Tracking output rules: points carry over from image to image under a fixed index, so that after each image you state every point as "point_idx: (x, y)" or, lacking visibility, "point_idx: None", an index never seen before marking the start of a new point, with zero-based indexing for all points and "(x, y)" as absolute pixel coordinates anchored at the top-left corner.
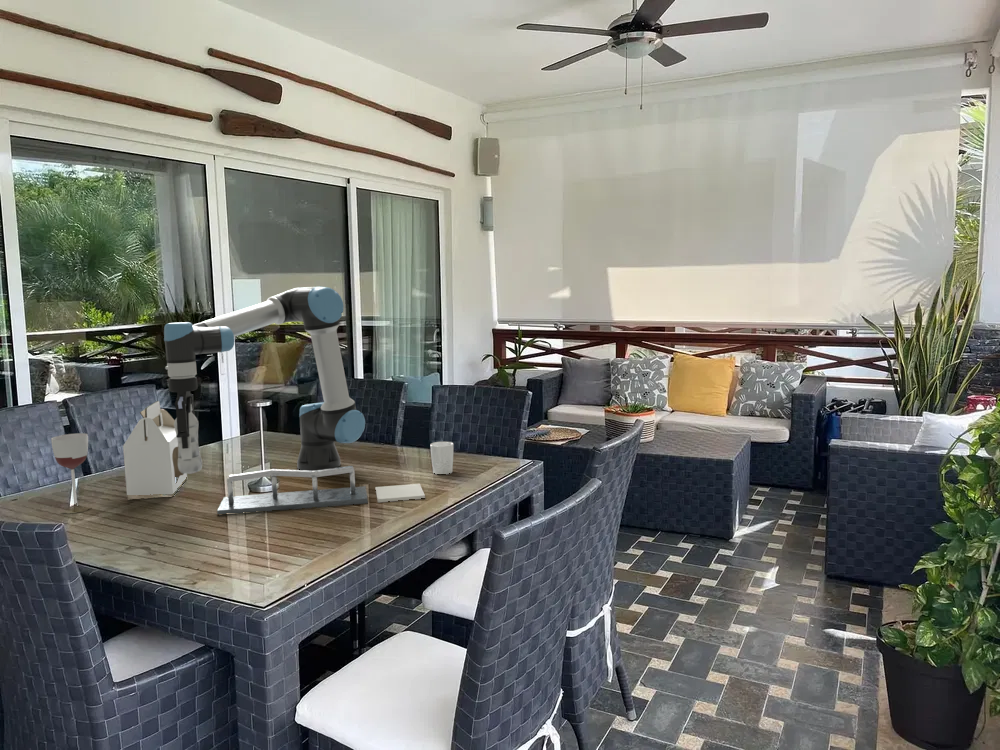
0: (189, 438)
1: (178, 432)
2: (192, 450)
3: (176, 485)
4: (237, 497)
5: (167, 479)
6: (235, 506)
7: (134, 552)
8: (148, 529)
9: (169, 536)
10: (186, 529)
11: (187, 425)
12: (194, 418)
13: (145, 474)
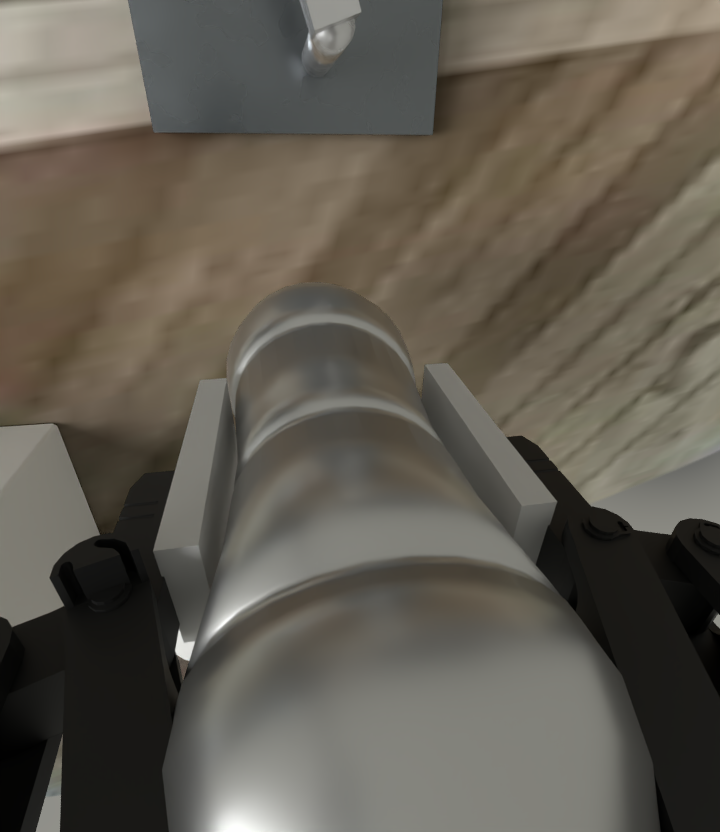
0: (540, 490)
1: (715, 638)
2: (419, 397)
3: None
4: (173, 26)
5: (23, 493)
6: (388, 17)
7: (716, 361)
8: (504, 387)
9: (622, 294)
10: (571, 248)
11: (699, 673)
12: (561, 795)
13: (46, 593)
